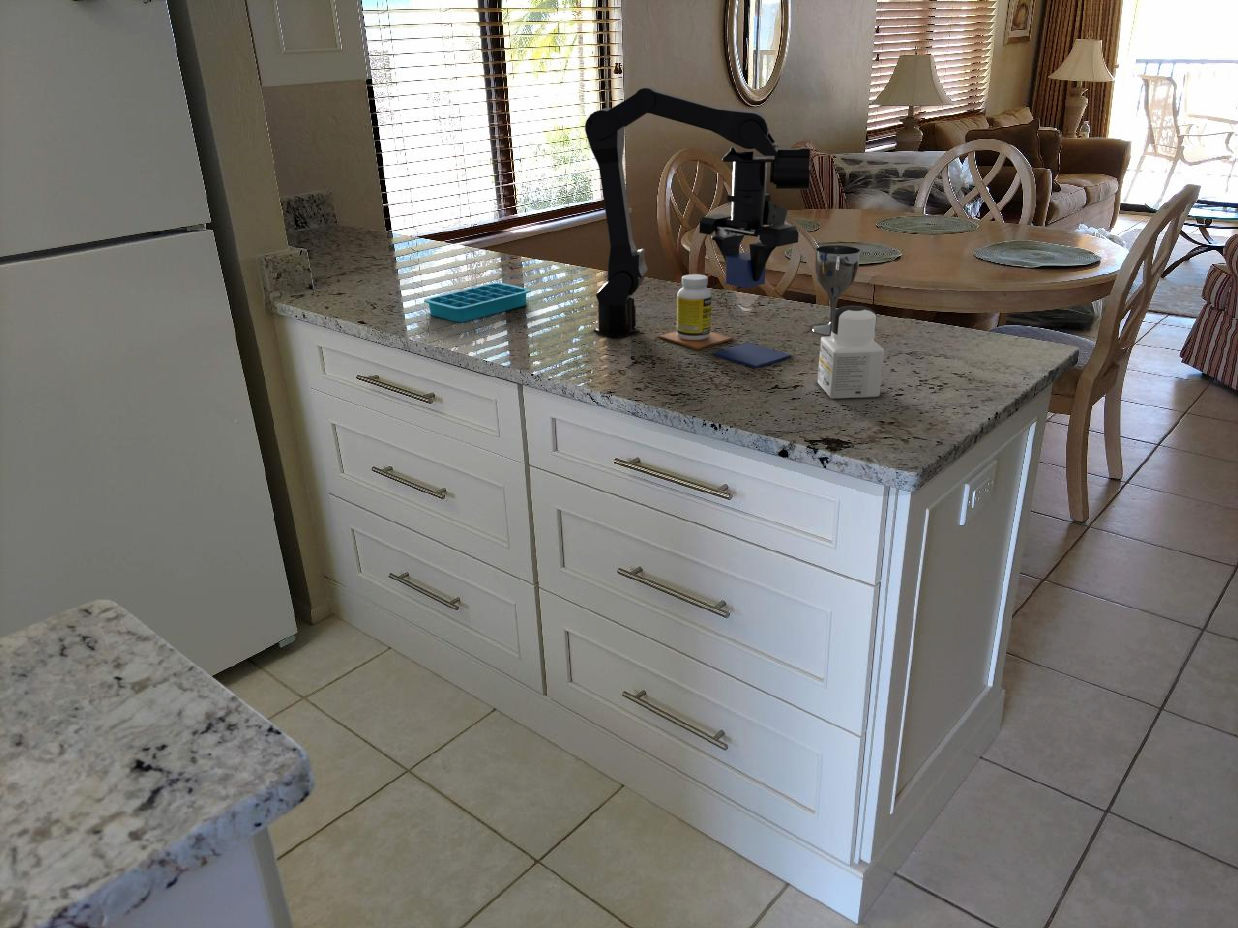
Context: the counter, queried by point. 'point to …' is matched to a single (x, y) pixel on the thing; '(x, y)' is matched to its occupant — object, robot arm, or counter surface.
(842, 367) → the container
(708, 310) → the pill bottle
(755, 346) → the navy mat
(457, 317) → the ice cube tray
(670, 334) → the amber mat
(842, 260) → the wine glass
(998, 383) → the counter surface
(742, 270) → the navy block
